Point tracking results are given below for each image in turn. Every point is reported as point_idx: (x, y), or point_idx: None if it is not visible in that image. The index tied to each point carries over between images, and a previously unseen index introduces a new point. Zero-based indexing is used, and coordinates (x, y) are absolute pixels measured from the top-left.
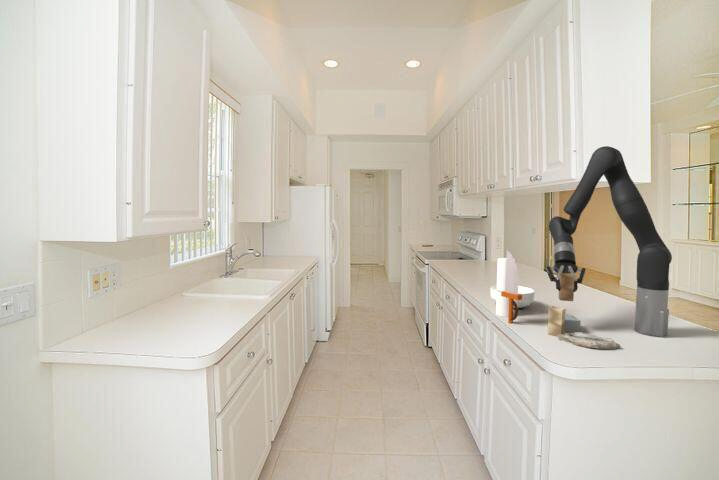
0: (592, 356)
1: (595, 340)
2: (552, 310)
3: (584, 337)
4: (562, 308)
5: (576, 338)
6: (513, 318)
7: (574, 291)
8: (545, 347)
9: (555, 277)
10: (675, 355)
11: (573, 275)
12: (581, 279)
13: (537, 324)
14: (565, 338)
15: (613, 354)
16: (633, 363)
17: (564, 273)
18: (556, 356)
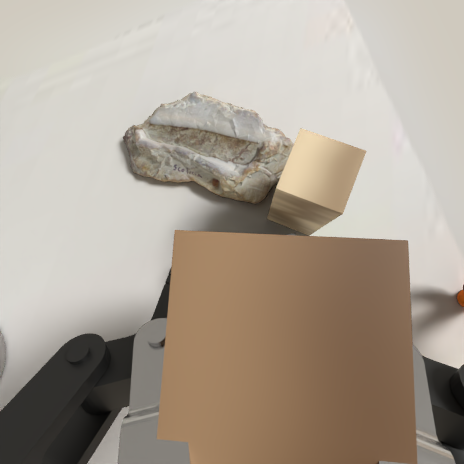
0: (221, 50)
1: (185, 146)
2: (343, 147)
3: (214, 156)
4: (292, 178)
5: (246, 110)
6: None
7: None
8: (339, 67)
9: (435, 400)
10: (3, 143)
11: (188, 235)
12: (80, 340)
13: None
14: (276, 129)
15: (162, 86)
16: (134, 43)
17: (320, 451)
18: (315, 12)
